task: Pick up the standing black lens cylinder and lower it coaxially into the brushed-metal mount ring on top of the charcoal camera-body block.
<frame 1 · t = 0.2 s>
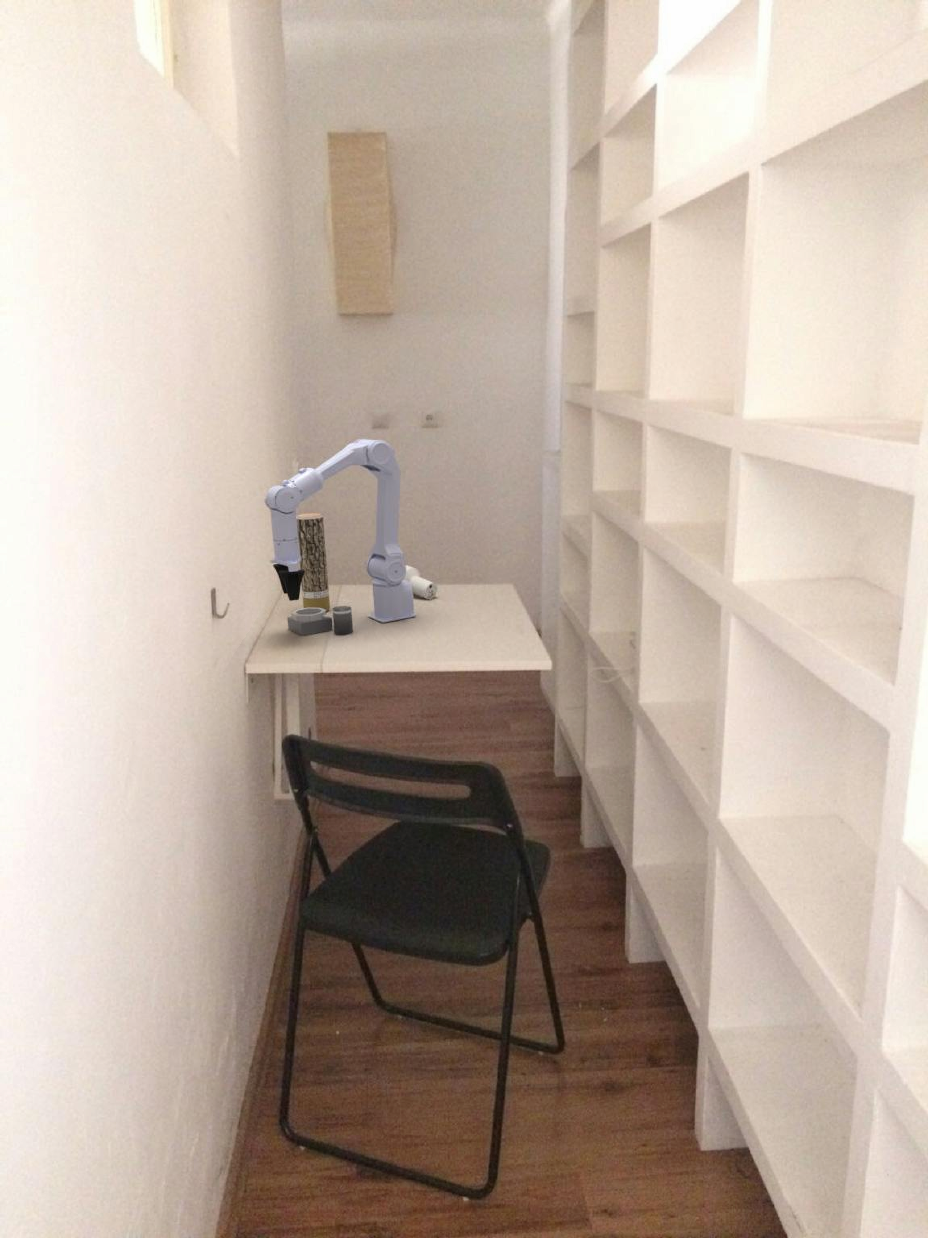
hand: (291, 596, 225), 10 cm above the table, tool pointing down, fingers open, 7 cm apart
lens: (343, 632, 230), on the table
mount: (310, 629, 234), on the table
spotlight: (415, 597, 263), on the table
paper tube: (317, 611, 251), on the table
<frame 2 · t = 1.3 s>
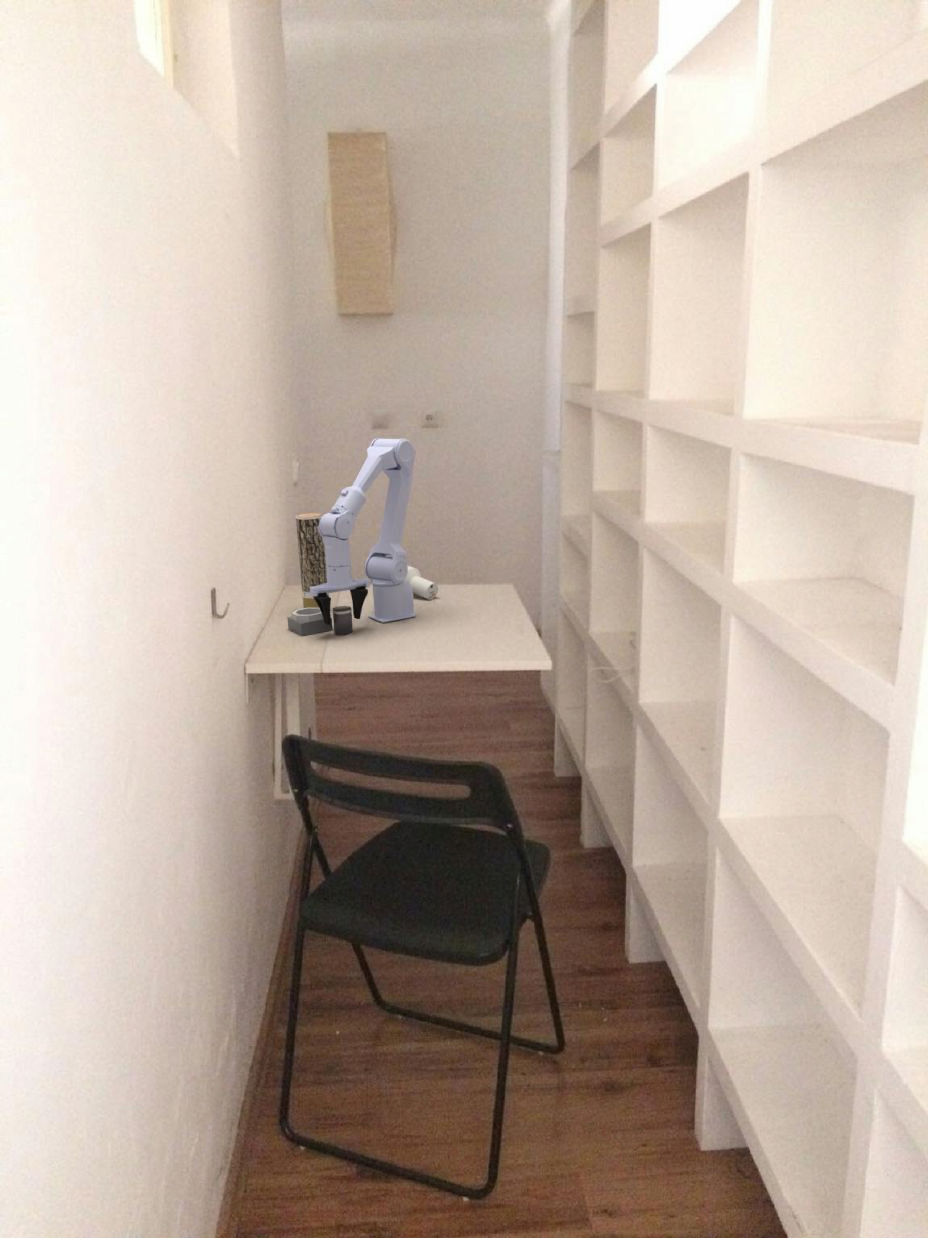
hand: (342, 621, 229), 3 cm above the table, tool pointing down, fingers open, 7 cm apart
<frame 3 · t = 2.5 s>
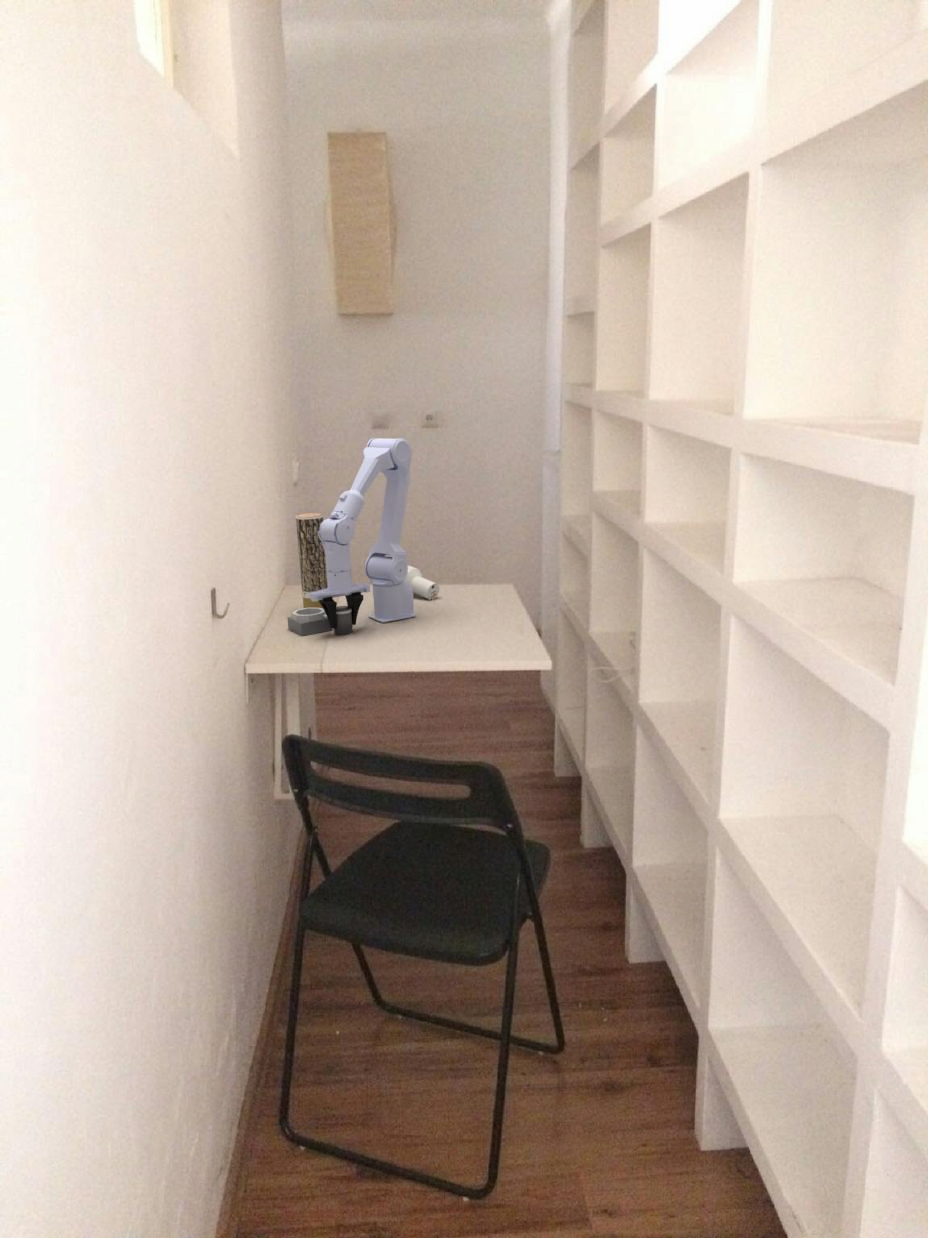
hand: (343, 626, 229), 2 cm above the table, tool pointing down, fingers closed on lens, 4 cm apart
lens: (343, 632, 230), on the table, touching gripper
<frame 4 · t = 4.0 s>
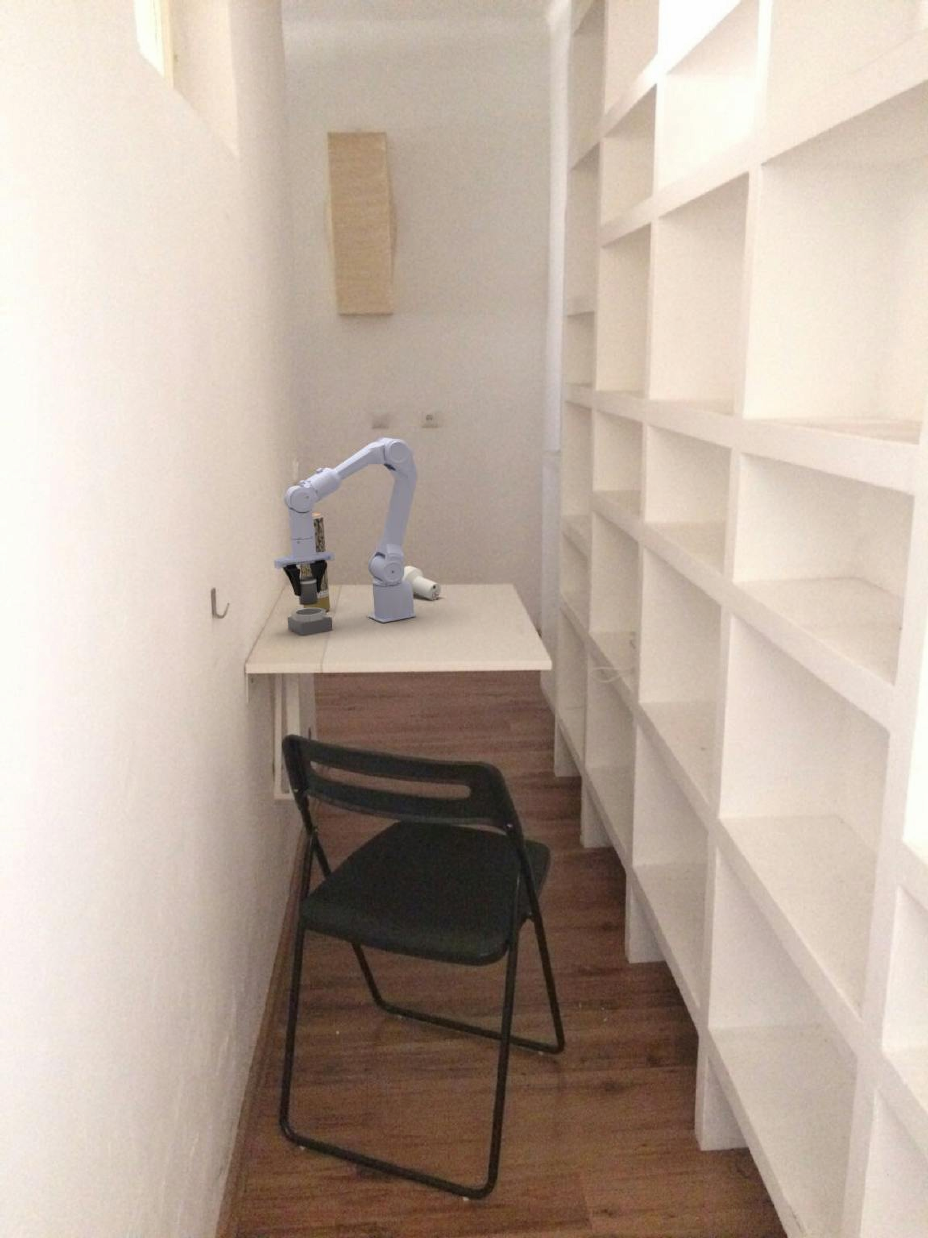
hand: (307, 593, 231), 9 cm above the table, tool pointing down, fingers closed on lens, 4 cm apart
lens: (308, 602, 232), point 7 cm above the table, touching gripper
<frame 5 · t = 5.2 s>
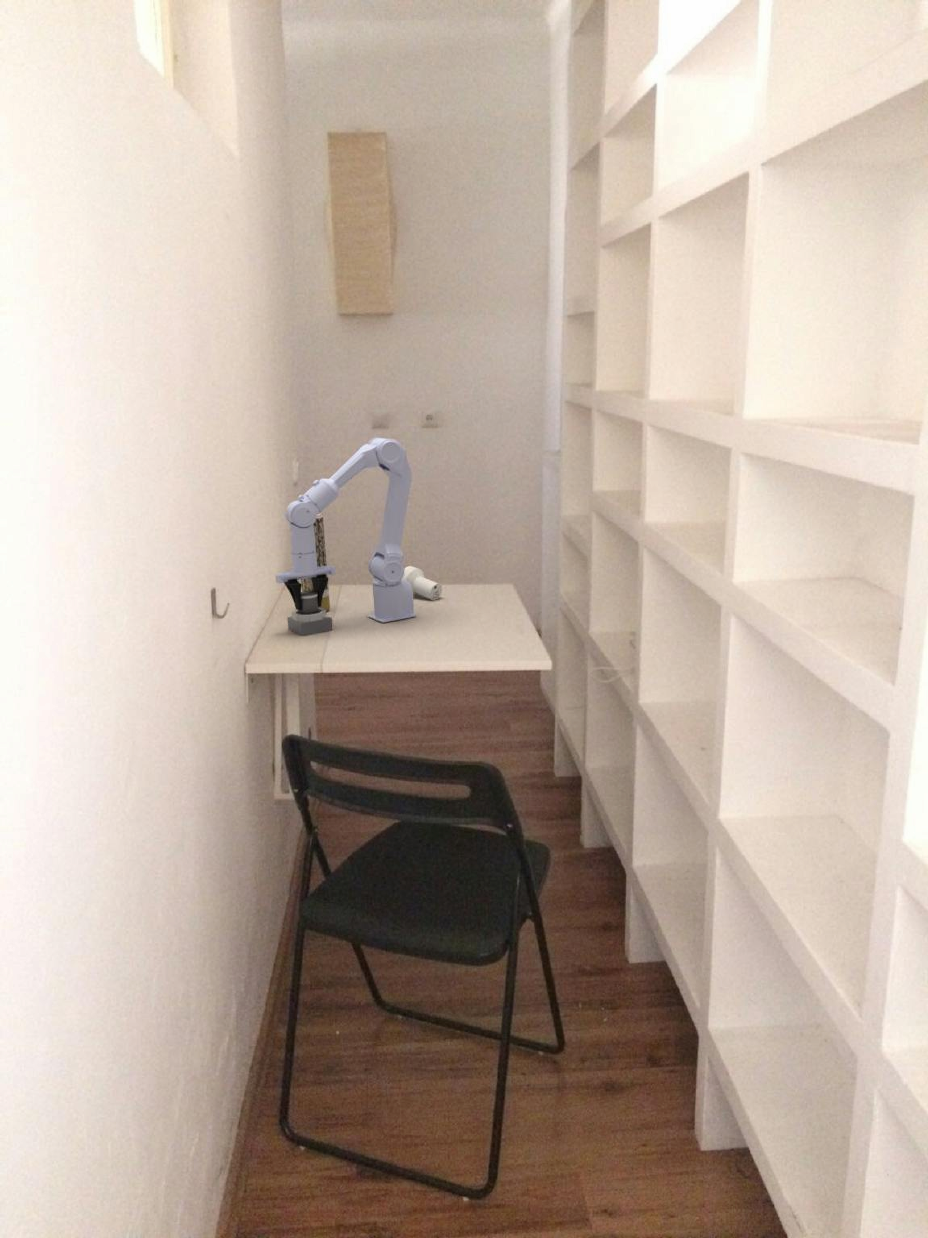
hand: (308, 607, 232), 5 cm above the table, tool pointing down, fingers closed on lens, 4 cm apart
lens: (309, 617, 233), point 3 cm above the table, touching gripper
when the fingers open (5 cm above the table, at t = 5.9 s): lens stays where it is, resting on mount.
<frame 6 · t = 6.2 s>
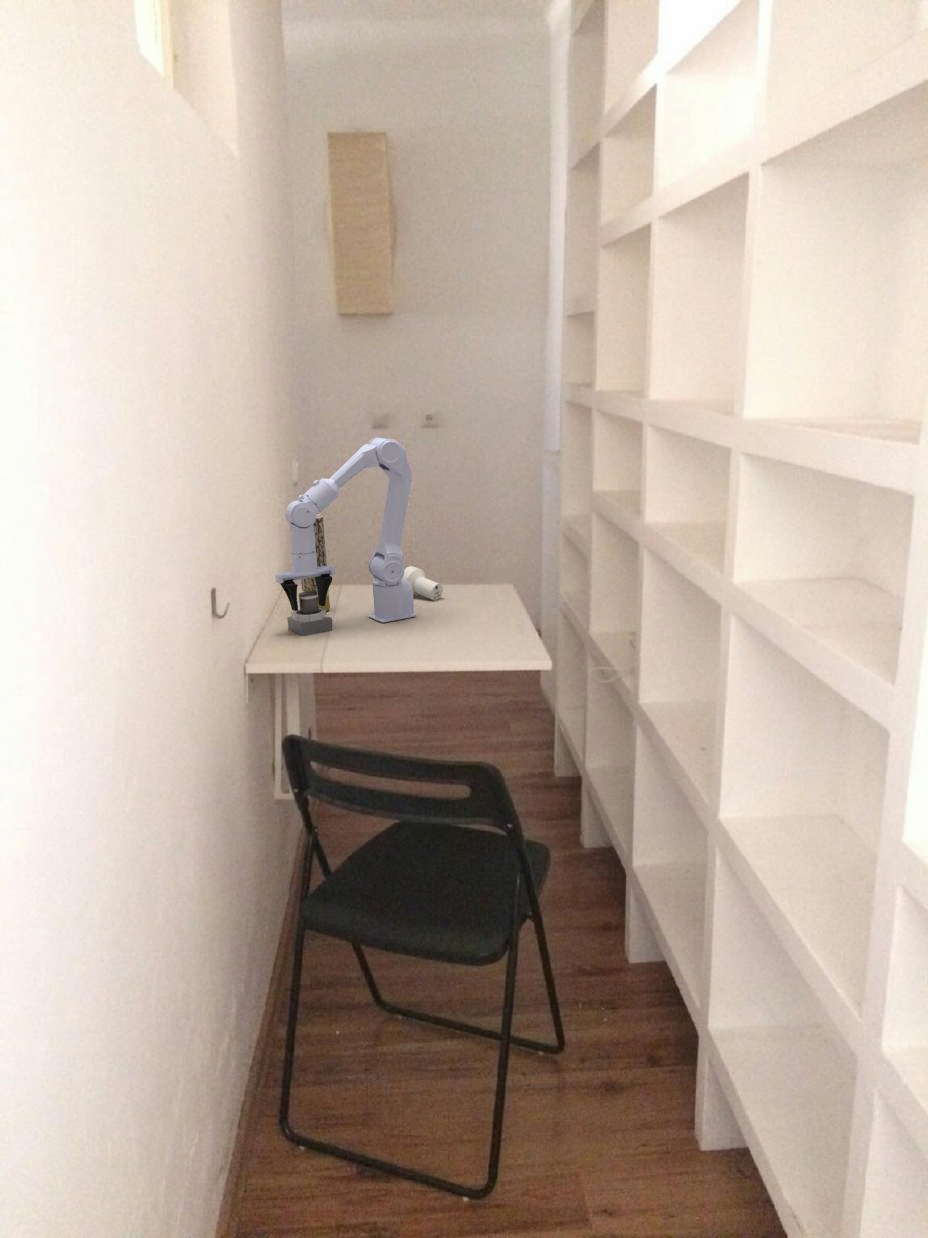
hand: (308, 607, 232), 5 cm above the table, tool pointing down, fingers open, 6 cm apart
lens: (309, 617, 233), point 3 cm above the table, touching mount
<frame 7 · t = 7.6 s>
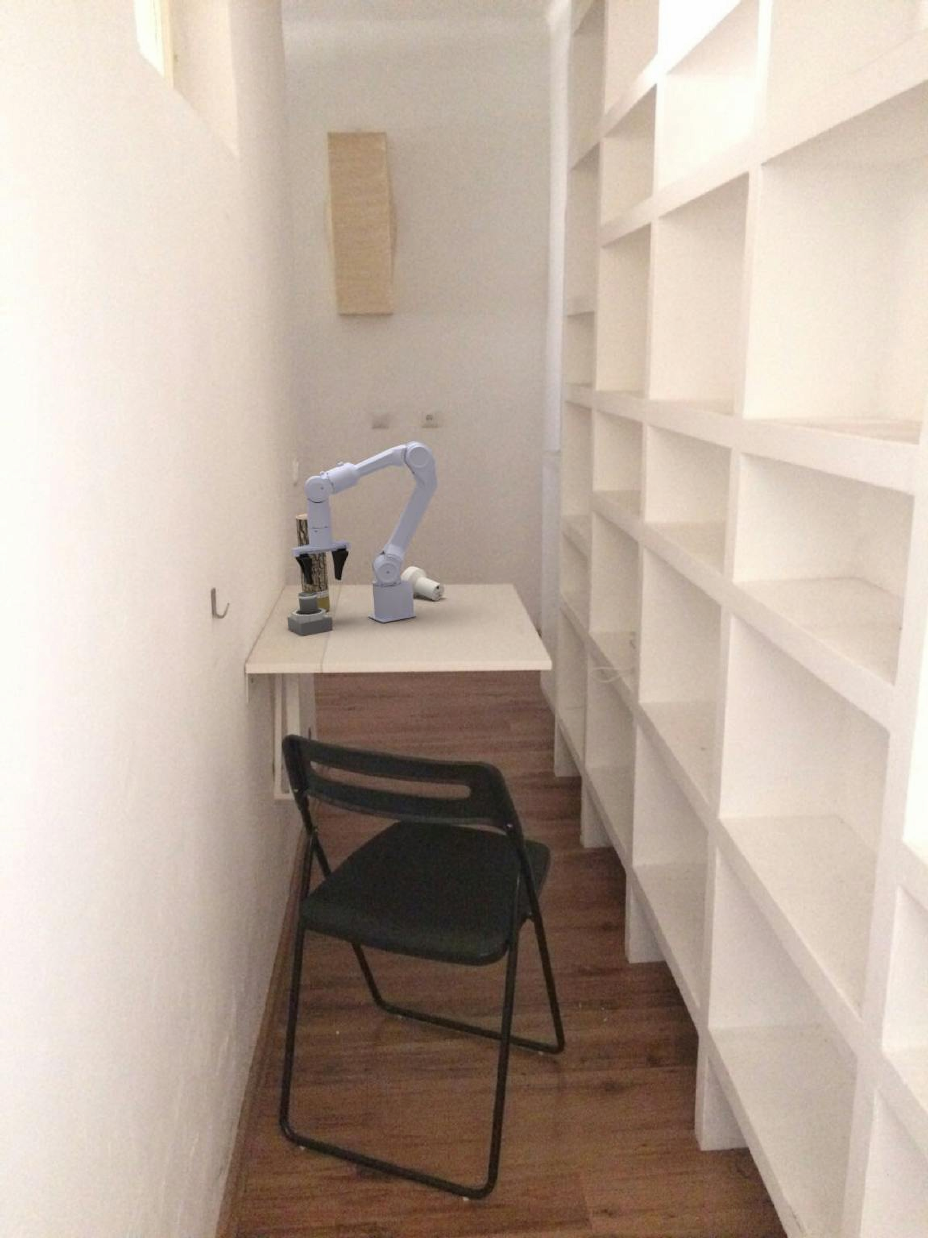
hand: (324, 581, 236), 10 cm above the table, tool pointing down, fingers open, 7 cm apart
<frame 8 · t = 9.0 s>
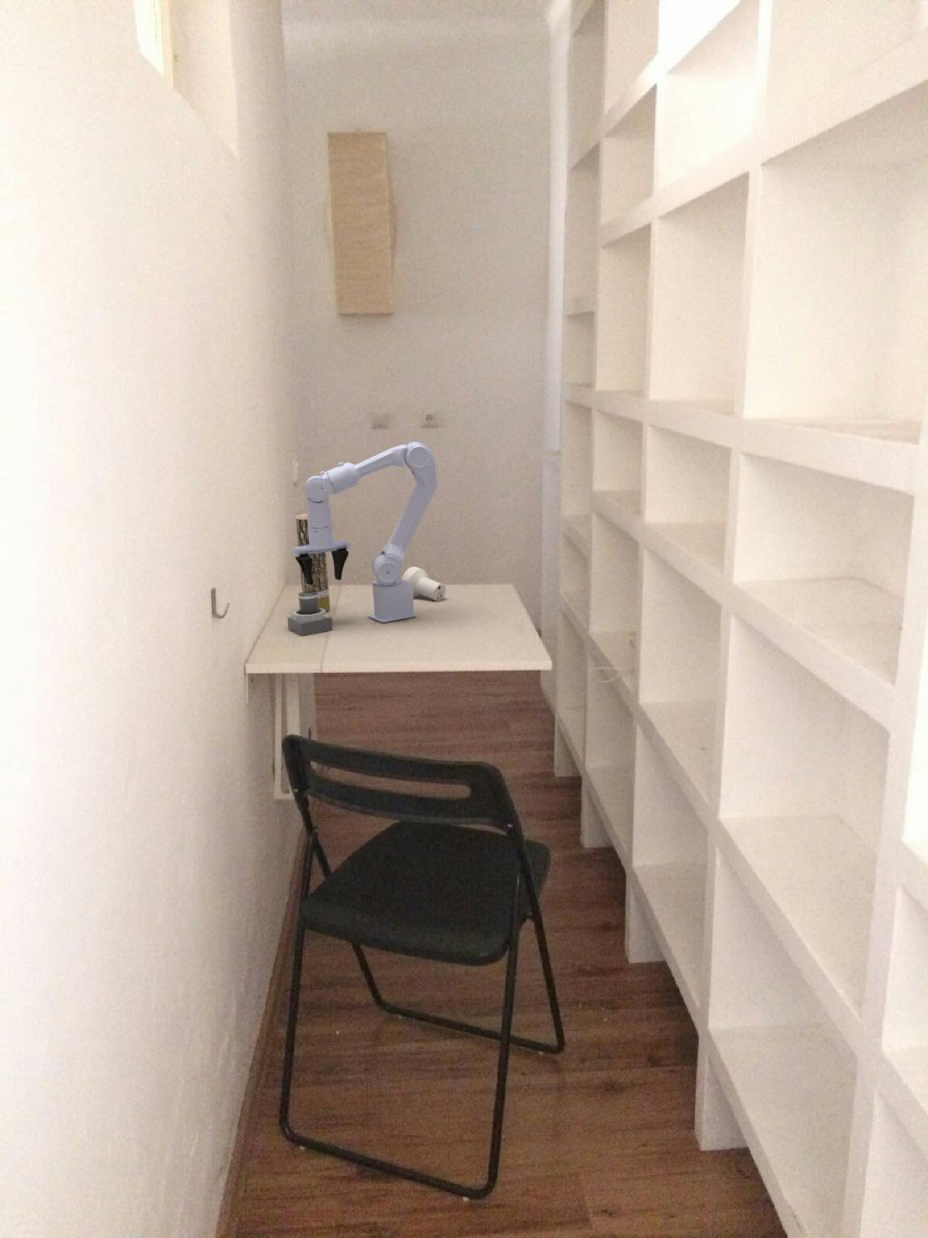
hand: (324, 581, 236), 10 cm above the table, tool pointing down, fingers open, 7 cm apart
at the end: lens 0.3 cm off-centre on the mount, point 3.0 cm above the mount's base; lens tilted 1°; the gripper is holding nothing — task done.
